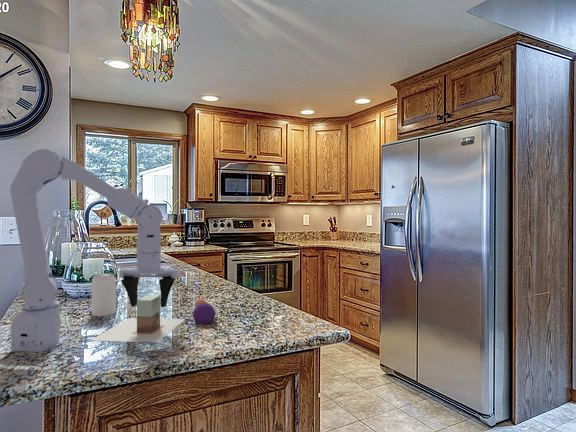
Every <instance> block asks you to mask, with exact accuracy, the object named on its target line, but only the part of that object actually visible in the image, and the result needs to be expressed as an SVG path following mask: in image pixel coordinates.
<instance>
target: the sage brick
mask: <svg viewBox="0 0 576 432" xmlns="http://www.w3.org/2000/svg"><path fill="white" fill-rule="evenodd" d="M159 311H160V312H161V294H157V295H154V294H153V295H151V294H149V295H145V296H143V297H141V298H139V299H138V298H137V305H136V317H137V316H140V317H152V316H153V315H155V314H156V313H158V312H159Z"/></svg>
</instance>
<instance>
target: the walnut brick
mask: <svg viewBox="0 0 576 432" xmlns="http://www.w3.org/2000/svg"><path fill="white" fill-rule="evenodd" d="M136 318H137V333H152V332H153V331H154V330H156V329H157V328H158V327H160V319H161V310H160V311H159V312H158V313H156V314H155V315H153V316H152V317H140V316H137V315H136Z"/></svg>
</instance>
